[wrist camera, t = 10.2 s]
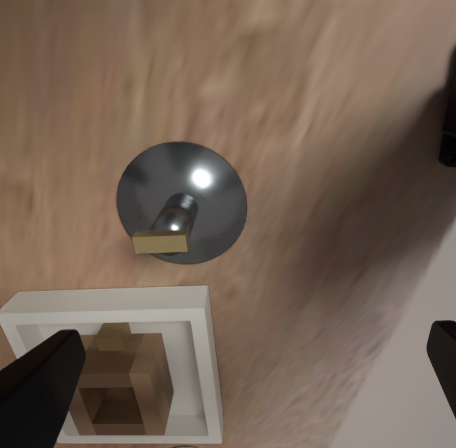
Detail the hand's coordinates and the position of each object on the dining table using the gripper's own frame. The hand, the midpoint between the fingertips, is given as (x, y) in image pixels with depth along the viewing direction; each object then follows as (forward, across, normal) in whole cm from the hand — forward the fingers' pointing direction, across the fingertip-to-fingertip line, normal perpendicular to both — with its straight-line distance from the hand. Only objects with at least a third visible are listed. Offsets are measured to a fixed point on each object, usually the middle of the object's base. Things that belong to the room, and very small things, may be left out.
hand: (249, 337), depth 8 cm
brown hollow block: (+11, +10, +14) cm, 21 cm away
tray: (+12, +10, +14) cm, 21 cm away
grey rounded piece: (+12, +4, +1) cm, 13 cm away
